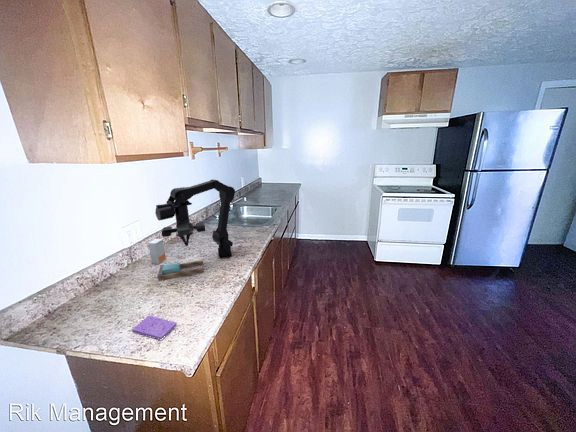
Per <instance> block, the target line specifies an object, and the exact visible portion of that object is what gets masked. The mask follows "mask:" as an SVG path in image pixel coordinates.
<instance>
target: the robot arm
mask: <svg viewBox="0 0 576 432" xmlns="http://www.w3.org/2000/svg"><path fill="white" fill-rule="evenodd" d="M211 190H215V191H217V192H218V196H219V200H220V208H219V216H218V223H217V228H216V229H214V230H212V236H211V238H212V240H213V242H214V243H215V244H216V245H217V246H218V247H217V253H218V257H219V259H225V258H230V257H231V258H232V257H233V255H232V247H233V245H234V242H233V241H231V240H230V239H229V232H228V222H229V221H228V220H229V217H230V216H229V215H230V208H231V203H232V202H233V200H234V198H235V194H236V190H235V188H234V187H232V186H229V185H227V184H224V183H222V182H221V181H219V180H217V179H215V178H214V179H210V180H207V181H204V182H201V183H197V184H194V185H191V186H186V187H185V186H183V187H175V188H173V189H171V191H170V195H169V197H168V199H167V201H166V202H165V203H163V204H156V205H155V212H154V213H155V216H156V219H157V220H158V221H164V220H169V219H172V218H174V217H175V222H176V228H175V227H174V228H173V227H172V226H165V227H163V228H162V230H161V236H162V238H165V237H170V236H171V235H172V234H174V233H176V237H179V238H180V239H181V240H182V242H183V243H184V244H183V245H185V247H188V246H189V242H190V241H189V240H190V237H191V235H193V234H194V231H196V232H198V233H202V232H206V225H205V223H204V222H196V223H195V225H194V223H193V222H191V221H190V215H189V208H188V206H191V205H193V203H192V202H190V201H189V200H190V199H191V198H192V197H194V196H196V195H199V194H202V193H205V192H207V191H211ZM185 236H186V237H185Z"/></svg>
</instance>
